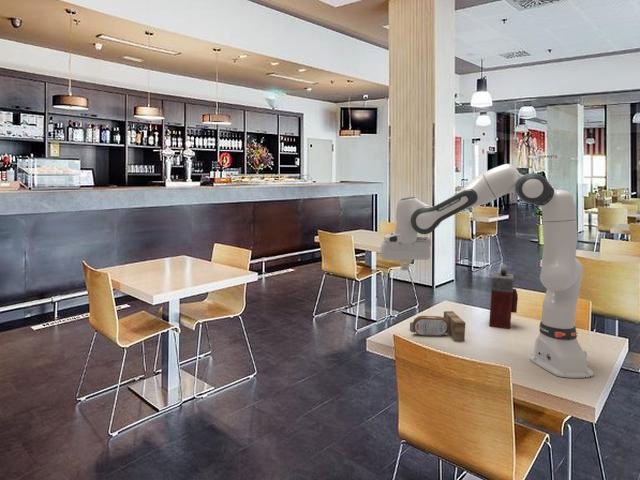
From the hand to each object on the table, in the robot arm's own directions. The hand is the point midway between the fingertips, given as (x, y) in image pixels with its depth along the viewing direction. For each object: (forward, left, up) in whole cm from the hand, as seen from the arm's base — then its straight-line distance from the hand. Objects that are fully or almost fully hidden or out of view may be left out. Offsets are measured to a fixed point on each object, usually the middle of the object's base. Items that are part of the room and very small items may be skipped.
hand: (404, 270), depth 200 cm
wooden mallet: (+3, -16, -29) cm, 33 cm away
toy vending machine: (+15, -50, -29) cm, 60 cm away
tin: (+2, -13, -29) cm, 32 cm away
